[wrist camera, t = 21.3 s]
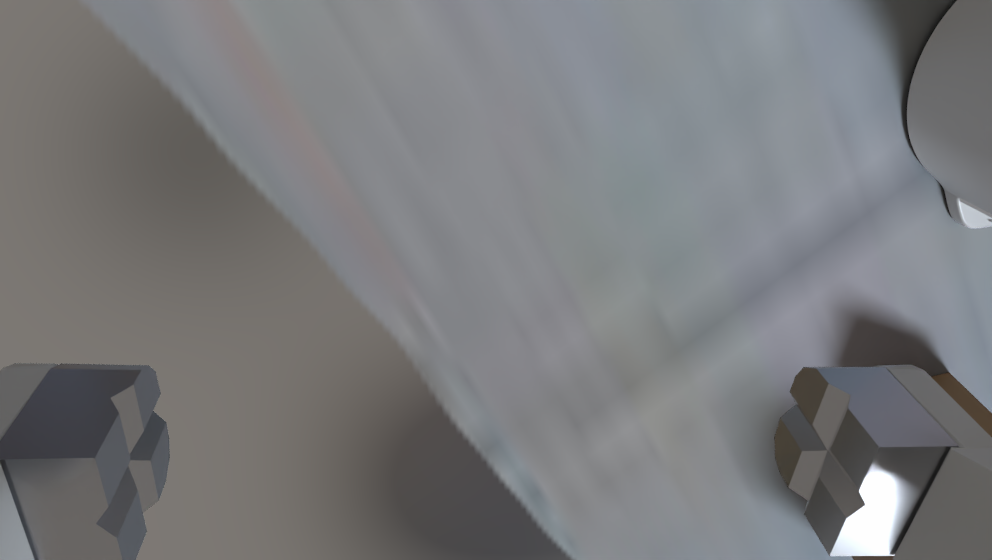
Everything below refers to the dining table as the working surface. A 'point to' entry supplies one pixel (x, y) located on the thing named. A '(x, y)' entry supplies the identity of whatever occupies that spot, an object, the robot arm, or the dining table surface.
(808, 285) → the dining table surface
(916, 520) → the robot arm
